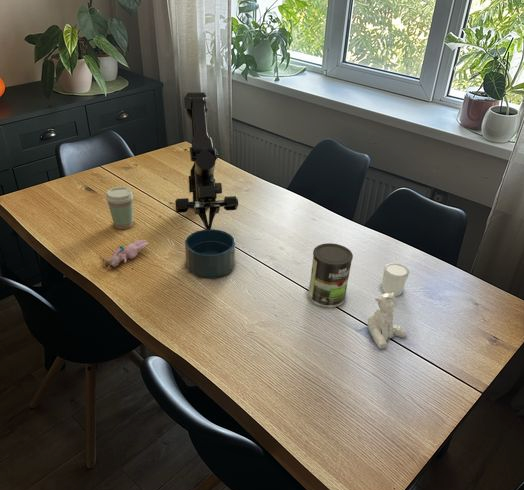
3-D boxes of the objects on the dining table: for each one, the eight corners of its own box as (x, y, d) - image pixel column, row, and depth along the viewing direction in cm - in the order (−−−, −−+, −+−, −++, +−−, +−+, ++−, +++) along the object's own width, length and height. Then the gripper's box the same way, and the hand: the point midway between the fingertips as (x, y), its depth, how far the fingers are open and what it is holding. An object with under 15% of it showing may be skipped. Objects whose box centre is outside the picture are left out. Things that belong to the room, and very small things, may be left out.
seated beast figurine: (380, 351, 120) (390, 313, 113) (355, 331, 126) (362, 293, 119) (406, 336, 125) (417, 299, 118) (381, 318, 131) (389, 281, 124)
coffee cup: (140, 219, 167) (136, 187, 160) (132, 232, 160) (127, 199, 153) (115, 217, 168) (110, 185, 161) (106, 230, 161) (100, 196, 154)
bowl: (202, 247, 155) (201, 224, 150) (242, 259, 150) (243, 237, 146) (177, 270, 144) (175, 247, 140) (219, 284, 139) (219, 260, 135)
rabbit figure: (114, 276, 142) (155, 250, 150) (108, 260, 138) (150, 234, 146) (101, 267, 146) (142, 242, 154) (96, 252, 142) (137, 226, 150)
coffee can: (352, 301, 136) (360, 259, 128) (321, 311, 132) (327, 268, 123) (331, 281, 143) (338, 239, 135) (301, 290, 139) (305, 247, 131)
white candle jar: (405, 285, 143) (410, 265, 139) (402, 299, 137) (408, 279, 133) (381, 280, 144) (385, 260, 140) (377, 293, 139) (382, 273, 135)
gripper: (173, 173, 142) (177, 226, 140) (238, 171, 145) (242, 222, 143) (174, 187, 153) (177, 236, 150) (234, 184, 156) (238, 232, 154)
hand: (208, 231), depth 149 cm, fingers closed, pressing on bowl
